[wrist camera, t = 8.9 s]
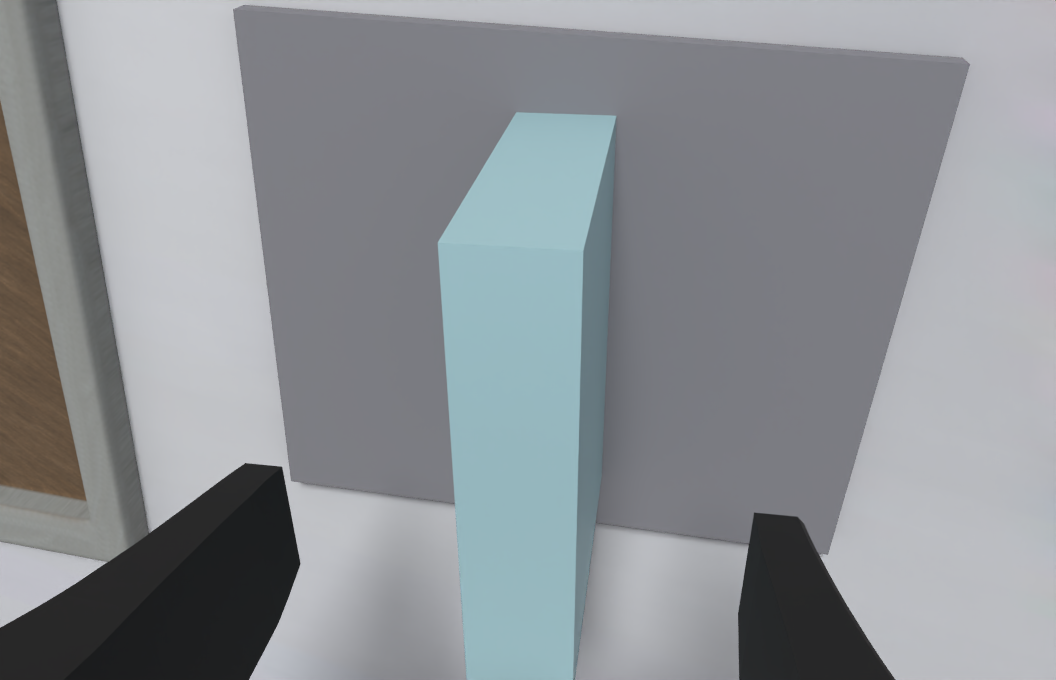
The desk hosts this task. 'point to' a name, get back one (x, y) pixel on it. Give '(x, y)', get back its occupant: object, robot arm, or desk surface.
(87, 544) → the grey flat rectangular frame
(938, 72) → the mat
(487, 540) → the pale teal block
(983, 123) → the desk surface
